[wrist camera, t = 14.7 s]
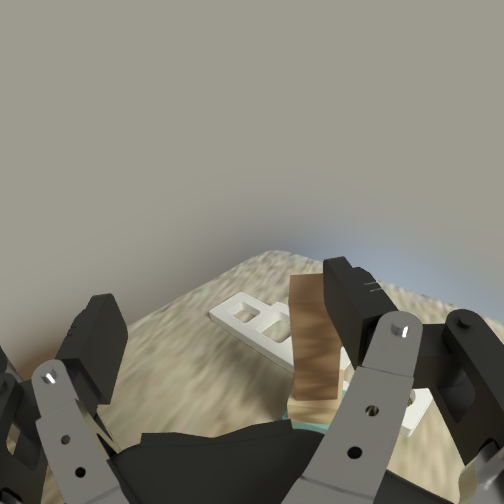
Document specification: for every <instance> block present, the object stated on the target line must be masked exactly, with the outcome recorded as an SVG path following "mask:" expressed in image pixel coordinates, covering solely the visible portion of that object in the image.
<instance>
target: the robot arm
mask: <svg viewBox="0 0 504 504" xmlns="http://www.w3.org/2000/svg"><path fill="white" fill-rule="evenodd" d="M323 297H324V304H325V307H326V310H327V313H328V315H329V317H330V319H331V321H332V323H333V325H334V327H335V329H336V331H337V334H338V336H339V338H340V340H341V342H342V344H343V346H344V348H345V351H346V353H347V355H348V357H349V359H350V361H351V364H352V366H353V368H354V370H355V373H354V375H353V377H352V380H351V382H350V384H349V386H348V389H347V391H346V393H345V395H344V397H343V399H342V402H341V404H340V406H339V408H338V410H337V412H336V414H335V416H334V418H333V420H332V422H331V424H330V426H329V428H328V430H327V432H326V434H323V433H320V432H317V431H312V430H307V429H293V427H292V423H291V419H285V420H280V421H274V422H268V423H262V424H255V425H251V426H248V427H245V428H243V429H240V430H237V431H234V432H231V433H228V434H225V435H222V436H219V437H215V438H209V437H201V436H195V435H188V434H182V433H177V432H171V433H142V435H141V443H140V444H137V445H134V446H131V447H129V448H127V449H125V450H123V451H122V450H121V449H120V447H119V446H118V444H117V443H116V441H115V439H114V438H113V436H112V434H111V433H110V431H109V429H108V428H107V426H106V424H105V423H104V421H103V419H102V417H101V415H100V414H99V413H98V411H97V406H98V404H109V405H110V402H111V398H112V394H113V390H114V387H115V383H116V379H117V375H118V372H119V368H120V364H121V361H122V357H123V354H124V350H125V347H126V343H127V340H128V331H127V327H126V324H125V322H124V319H123V317H122V315H121V312H120V310H119V308H118V305H117V303H116V301H115V298H114V296H113V295H112V294H110V293H109V294H102V295H95V296H92V298H91V299H90V301H89V303H88V305H87V307H86V309H84V310H83V311H82V312H81V313H80V314H79V315H78V316H77V317H76V318H75V319H74V321H73V323H72V325H71V329H69V331H68V333H67V336H66V337H65V339H64V341H63V343H62V345H61V347H60V349H59V351H58V353H57V355H56V357H55V359H54V360H49V361H46V362H44V363H43V364H41V365H40V366H39V367H38V368H37V369H36V370H35V371H34V373H33V375H32V379H30V380H27V381H24V380H23V379H22V377H21V376H20V375H19V373H18V372H17V371H16V369H15V368H14V366H13V365H12V364H11V362H10V361H9V359H8V358H7V357H6V355H5V353H4V352H3V350H2V349H1V346H0V504H41V498H42V491H43V485H44V480H45V475H46V469H47V465H48V463H49V465H50V468H51V470H52V473H53V475H54V478H55V480H56V483H57V485H58V487H59V490H60V492H61V494H62V496H63V499H64V501H65V504H454V503H452V502H450V501H448V500H446V499H444V498H442V497H440V496H438V495H436V494H433V493H431V492H429V491H427V490H425V489H423V488H421V487H419V486H417V485H415V484H413V483H411V482H410V481H408V480H406V479H404V478H402V477H400V476H398V475H396V474H395V473H393V472H391V471H389V470H387V469H386V468H387V466H388V463H389V460H390V458H391V455H392V452H393V449H394V446H395V444H396V441H397V438H398V435H399V431H400V428H401V425H402V422H403V419H404V415H405V412H406V408H407V405H408V401H409V397H410V393H411V390H412V389H425V388H428V389H429V391H430V393H431V395H432V397H433V399H434V401H435V403H436V405H437V407H438V409H439V411H440V413H441V415H442V417H443V419H444V421H445V423H446V425H447V427H448V429H449V432H450V434H451V436H452V438H453V440H454V442H455V445H456V447H457V449H458V451H459V454H460V456H461V458H462V461H463V463H464V465H465V468H464V469H463V470H462V472H461V474H460V477H459V482H458V483H459V491H460V500H459V504H504V345H503V343H502V342H501V341H500V340H499V338H498V337H497V336H496V335H495V333H494V332H493V331H492V330H491V328H490V327H489V326H488V325H487V324H486V322H485V321H484V320H483V319H482V318H481V317H480V316H479V315H478V314H477V313H475V312H473V311H470V310H466V309H458V310H454V311H452V312H450V313H449V314H448V316H447V318H446V321H445V324H422V323H421V321H420V320H419V319H418V318H417V317H416V316H415V315H413V314H411V313H408V312H404V311H399V310H398V309H397V307H396V306H395V305H394V303H393V302H392V301H391V300H390V298H389V297H388V296H387V294H386V293H385V292H384V290H383V289H381V287H380V285H379V284H378V283H376V280H375V279H374V278H373V276H372V275H371V274H370V273H369V272H367V271H365V270H364V269H362V268H360V267H356V268H352V266H351V265H350V264H349V262H348V261H347V260H346V258H345V257H337V258H331V259H326V260H324V262H323ZM7 436H9V437H10V438H11V439H12V440H13V441H14V442H15V443H16V447H15V451H14V454H13V455H12V454H11V453H10V452H9V451H8V449H7V445H6V440H7Z"/></svg>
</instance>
